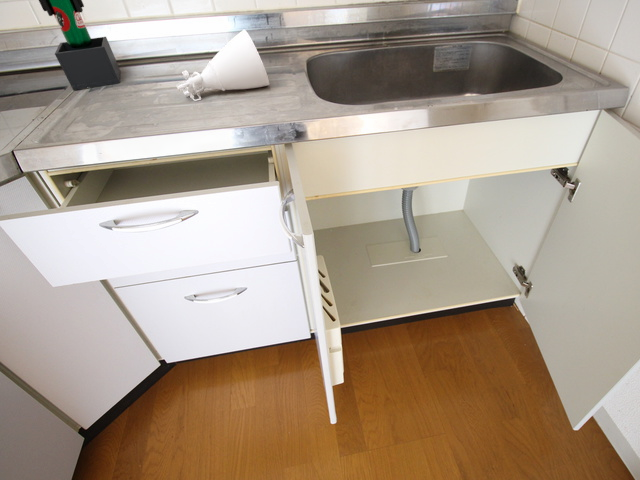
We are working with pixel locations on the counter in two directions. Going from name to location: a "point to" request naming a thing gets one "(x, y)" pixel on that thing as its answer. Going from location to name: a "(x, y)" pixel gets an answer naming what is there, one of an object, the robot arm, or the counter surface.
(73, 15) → the soda can
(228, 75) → the rocket engine
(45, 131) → the counter surface
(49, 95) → the counter surface
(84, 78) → the bin
